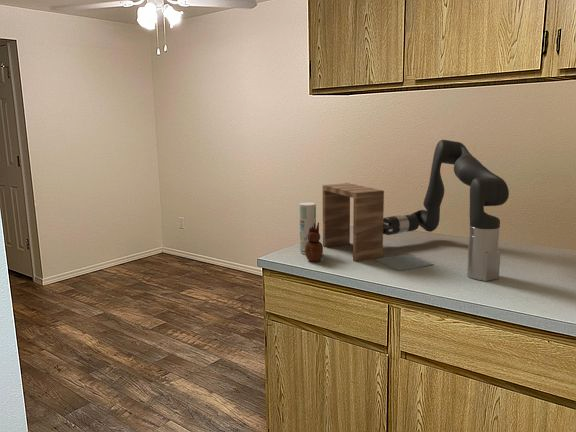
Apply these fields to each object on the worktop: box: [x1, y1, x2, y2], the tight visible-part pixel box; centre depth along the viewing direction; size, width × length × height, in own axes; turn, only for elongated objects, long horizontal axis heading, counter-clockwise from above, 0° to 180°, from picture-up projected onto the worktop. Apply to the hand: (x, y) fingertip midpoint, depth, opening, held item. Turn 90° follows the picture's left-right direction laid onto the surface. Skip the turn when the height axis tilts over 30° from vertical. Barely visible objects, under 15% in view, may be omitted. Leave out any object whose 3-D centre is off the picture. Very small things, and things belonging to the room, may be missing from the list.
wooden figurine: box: [304, 221, 324, 263], centre depth 186 cm, size 7×6×15 cm
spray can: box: [299, 201, 317, 256], centre depth 196 cm, size 6×6×20 cm
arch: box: [322, 182, 385, 263], centre depth 196 cm, size 26×12×26 cm, turn 24°
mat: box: [374, 253, 434, 272], centre depth 182 cm, size 15×15×1 cm
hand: (361, 229), depth 198 cm, fingers closed on small box, 7 cm apart
